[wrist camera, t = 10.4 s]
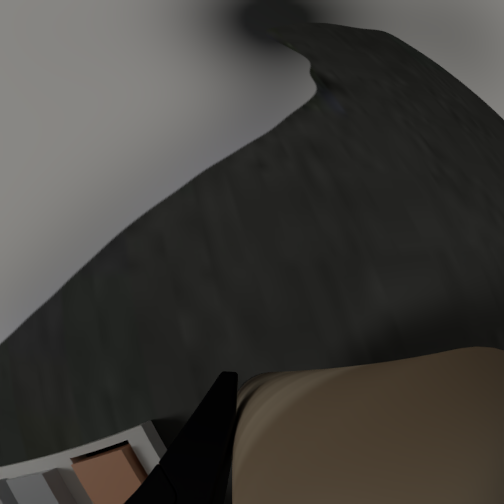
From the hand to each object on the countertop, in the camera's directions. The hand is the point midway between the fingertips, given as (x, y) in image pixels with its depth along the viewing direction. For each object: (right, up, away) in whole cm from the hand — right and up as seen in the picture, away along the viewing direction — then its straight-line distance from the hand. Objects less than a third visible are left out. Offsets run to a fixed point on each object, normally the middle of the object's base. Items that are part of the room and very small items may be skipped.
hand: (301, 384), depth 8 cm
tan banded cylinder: (0, -4, +6) cm, 7 cm away
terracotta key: (-10, -12, +8) cm, 18 cm away
